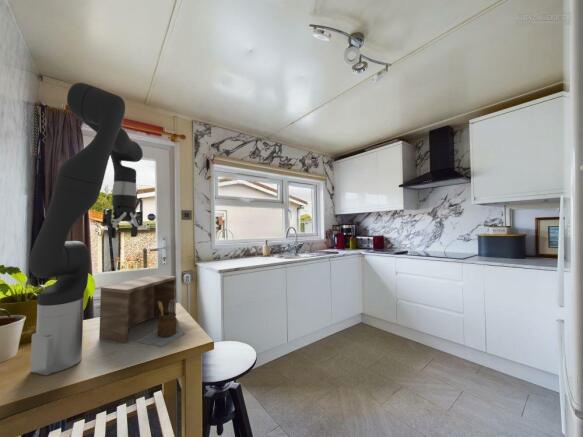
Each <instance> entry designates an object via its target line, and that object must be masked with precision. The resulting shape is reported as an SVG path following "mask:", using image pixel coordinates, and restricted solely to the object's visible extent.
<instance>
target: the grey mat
mask: <svg viewBox="0 0 583 437" xmlns="http://www.w3.org/2000/svg"><path fill="white" fill-rule="evenodd" d="M157 331H158V329H157V330H154V332H151V333H149V334H148V335H145V336H143V337H141V338H140V339H138V340H137V343H141V344H145V345H146V344H147V345H149V346H151V345H152V346H157V347H164V346H166V345H168V344H170V343H171V342H173V341H174V340H176V339H178V338H180V337H181V336H183V335H185V334H186V331H184V330H178V329H177V331H176V334H174V335H173V336H170V337H165V338H162V337H159V336H158V332H157Z"/></svg>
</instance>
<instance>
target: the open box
mask: <svg viewBox="0 0 583 437" xmlns="http://www.w3.org/2000/svg"><path fill="white" fill-rule="evenodd" d="M172 300H173V301H172ZM174 300H175V301H174ZM176 300H177V276H176V275H175V276H172V275H163V274H152V275H149V276H148V275H147V276H143V277H139V278H135V279H132V280H131V279H130V280H127V281H122V282H118V283H113V284H108V285H104V286H100V300H99V301H100V302H99V304H100V306H99V334H98V335H99V336H98V339H99V340H103V341H109V342H114V343H120V344H124V345H125V344H127V343H128V341H129V340H128V339H129V338H128V335H129V328H130V327H133V326H136V325H138V324H140V323H142V322H145V321H147V320H149V319H151V318H159V315H160V314H161V310H160V309H159V304H160V303H161V302H162V306H163V310H162V311H163V312H167V311H171V310H172V311H174V310H175V311H174V312H176V310H177V309H176V307H177V302H176ZM158 301H159V302H160V303H159V304H158ZM175 302H176V303H175ZM172 304H173V305H172ZM172 306H173V307H172ZM168 307H170V308H169V309H168Z"/></svg>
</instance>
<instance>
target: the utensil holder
mask: <svg viewBox="0 0 583 437" xmlns="http://www.w3.org/2000/svg"><path fill="white" fill-rule="evenodd" d="M172 301H173V300H172ZM174 301H175V300H174ZM159 303H160V302H159V301H158V304H159ZM175 303H176V304H177V302H175ZM172 305H173V304H172ZM172 307H173V306H172ZM169 308H170V307H168V309H169ZM159 309H160V310H161V314H160V315H159V317H158V321H157V330H158V331H157V330H156V331H157V332H158V336H159V337H162V338H165V337H170V336H173V335H174V334H176V331H177V330H178V329H177V328H178V318H177V317H176V316H177V313H176V312H174V311H175V310H174V311H172V310H171V311H167V312H163V311H162V310H163V306H162V302H161V303H160V304H159Z"/></svg>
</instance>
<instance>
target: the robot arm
mask: <svg viewBox="0 0 583 437" xmlns="http://www.w3.org/2000/svg"><path fill="white" fill-rule="evenodd" d="M66 104H67V108H68V109H69V111H70V112H71V114H72V115H74V117H75V118H77V119H78V120H80V121H81V122H82V123H84V124H86V126H88V127H89V128H90V129H92V131H94V132H95V136H94V137H93V139H92V140H91V141H90V143H88V145H86V146H85V147H84V148H82V149H81V150H79V151H78V152H77V153H75V154H73V155H72V156H71V157H69V158H67V159H66V160H65V161H64V162H63V163H62V164H61V165H60V167H59V168H58V170H57V171H58V172H57V174H56V179H55V183H54V186H53V190H52V194H51V198H50V202H49V206H48V208H47V211H46V215H45V218H44V220H43V223H42V225H41V228H40V230H39V232H38V235H37V238H36V239H35V241H34V244H33V247H32V248H31V249H32V250H31V252H30V256H29V259H28V260H29V261H28V264H29V270H30V272H31V273H32V275H33V276H34V277H36V278H38V279H48V278H49V279H50V278H55V277H58V278H57V280H56V281H55V282H54V283H53V284H51V285H50V286H47V287H46V288H45V289H43V290H41V291H40V292H39V293H38V295H37V303H36V304H37V306H36V309H37V310H36V311H37V312H36V331H35V333H32V334H31V344H30V345H31V347H30V349H31V350H30V372H31V373H35V374H39V375H42V376H48V375H51V374H53V373H57V372H61V371H63V370H67V369H69V368H71V367H73V366H75V365H77V364H78V363H80V361H81V360H82V359H83V337H84V336H83V334H84V332H83V330H84V301H85V291H86V290H87V286H88V283H89V272H90V252H89V249H88V246H87V245H86V244H85V243H84V242H82V241H78V240H67V239H68V236H69V234H70V232H71V230H72V228H73V227H74V226H75V225H76V224H77V223H78V221H80V219H81V218H82V217H83V216H85V214H86V213H88V212H89V210H91V209H92V208H93V206H94V205H96V203H97V201H98V199H99V197H100V193H101V190H102V186H103V183H104V179H105V175H106V170H107V167H108V163H109V160H110V158H111V163H112V168H113V185H112V199H111V201H112V202H111V206H112V208H104V209H103V212H102V213H103V214H102V226H104V227H107V228H108V230H107V231H108V232H107V233H108V234H107V236H108V237H109V239H115V238H116V237H117V227H116V226H118V224H119V223H121V222H127V223H128V224H129V225H130V237H131V238H136V237H137V236H138V231H139V230H138V228H140V227H141V226H144V225H143V211H142V210H136V207H137V194H138V192H137V191H138V189H137V170H136V169H135V168H134V167H130V166H126V165H123V164H122V162H129V163H130V162H131V163H138V162H140V161H141V160H142V159H143V156H144V155H143V149H142V147H141V145H140V144H139V143H137V141H135V140H134V139H132V138H131V137H130V136H129V133H128V132H127V131H126V130H125V128H123V127H122V125H123V122H124V118H125V115H126V102H125V100H124V99H123V98H122V97H121V96H119V95H117V94H115V93H113V92H110V91H107V90H104V89H102V88H99V87H97V86H95V85H92V84H88V83H84V82H77V83H73V84H72V86H70V87H69V89H68V92H67V95H66ZM112 215H113V217H112Z"/></svg>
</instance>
